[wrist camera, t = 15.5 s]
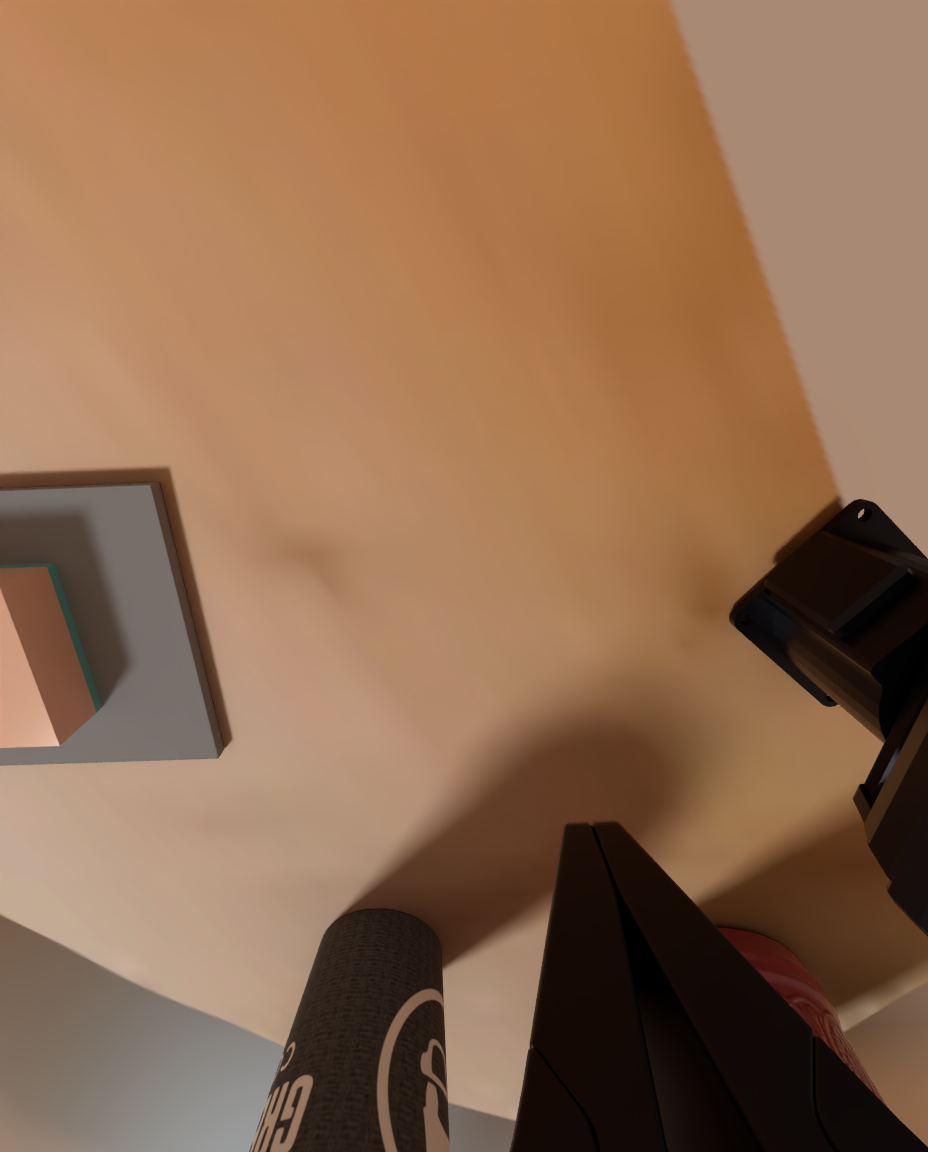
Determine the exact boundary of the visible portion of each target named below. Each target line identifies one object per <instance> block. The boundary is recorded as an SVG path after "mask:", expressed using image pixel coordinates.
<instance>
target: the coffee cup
mask: <svg viewBox="0 0 928 1152" xmlns="http://www.w3.org/2000/svg"><path fill="white" fill-rule="evenodd" d="M249 1152H450V1145H449V1120H448V1097H447V1073H446V1049H445V1025H444V1000H443V976H442V953H441V946H440V943H439V940H438V938H437V937H436V935H435V934H434V932H433V931H432V930H431V929H430V928H429V927H428V926H427V925H426V924H424V923H423V922H421V921H420V920H418V919H416V918H414V917H412V916H410V915H407V914H405V913H401V912H398V911H393V910H385V909H371V910H363V911H358V912H354V913H351V914H349V915H346V916H344V917H342V918H340V919H339V920H337V921H336V922H335V923H333V924H332V925H331V926H330V927H329V928H328V929H327V931H326V932H325V934H324V936H323V938H322V940H321V943H320V946H319V949H318V952H317V955H316V958H315V961H314V964H313V967H312V970H311V973H310V975H309V978H308V981H307V984H306V987H305V990H304V993H303V996H302V999H301V1002H300V1005H299V1008H298V1011H297V1014H296V1017H295V1020H294V1022H293V1025H292V1028H291V1031H290V1034H289V1037H288V1040H287V1043H286V1046H285V1049H284V1052H283V1055H282V1058H281V1061H280V1064H279V1066H278V1069H277V1072H276V1075H275V1078H274V1081H273V1084H272V1087H271V1090H270V1093H269V1096H268V1099H267V1102H266V1104H265V1107H264V1111H263V1113H262V1116H261V1119H260V1122H259V1125H258V1128H257V1131H256V1134H255V1137H254V1140H253V1142H252V1145H251V1148H250V1151H249Z"/></svg>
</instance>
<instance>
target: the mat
mask: <svg viewBox="0 0 928 1152" xmlns="http://www.w3.org/2000/svg"><path fill="white" fill-rule="evenodd" d="M43 563H55V565H56V568H57V571H58V574H59V577H60V580H61V583H62V586H63V589H64V592H65V595H66V598H67V601H68V604H69V607H70V610H71V613H72V616H73V619H74V622H75V625H76V628H77V631H78V634H79V637H80V640H81V643H82V646H83V649H84V652H85V655H86V658H87V661H88V664H89V667H90V670H91V673H92V676H93V679H94V682H95V685H96V689H97V692H98V695H99V698H100V701H101V704H102V708H101V709H100V710H99V711H98V712H97V713H96V714H94V715H93V716H92V717H91V718H90V719H89V720H88V721H87V722H86V723H85V724H83V725H82V726H81V727H80V728H79V729H78V730H77V731H76V732H75V733H73V734H72V735H71V736H70V737H69V738H68V739H67V740H66V741H65V742H64V743H62V744H61V745H60V746H44V747H15V748H0V766H4V765H34V764H65V763H96V762H126V761H157V760H188V759H218V758H219V757H220V755H221V753H222V752H223V750H224V747H223V743H222V739H221V735H220V730H219V726H218V722H217V718H216V714H215V710H214V706H213V702H212V697H211V693H210V689H209V685H208V681H207V677H206V673H205V669H204V664H203V660H202V656H201V652H200V648H199V644H198V640H197V636H196V632H195V627H194V623H193V619H192V615H191V611H190V607H189V603H188V599H187V594H186V590H185V586H184V582H183V578H182V574H181V570H180V566H179V561H178V557H177V553H176V549H175V545H174V541H173V537H172V533H171V528H170V524H169V520H168V516H167V512H166V508H165V504H164V500H163V496H162V491H161V487H160V483H159V482H148V483H123V484H98V485H73V486H48V487H23V488H0V565H18V564H43Z"/></svg>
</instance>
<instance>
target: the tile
mask: <svg viewBox="0 0 928 1152" xmlns="http://www.w3.org/2000/svg"><path fill="white" fill-rule="evenodd" d="M101 708H102V704H101V701H100V698H99V695H98V692H97V689H96V685H95V682H94V679H93V676H92V673H91V670H90V667H89V664H88V661H87V658H86V655H85V652H84V649H83V646H82V643H81V640H80V637H79V634H78V631H77V628H76V625H75V622H74V619H73V616H72V613H71V610H70V607H69V604H68V601H67V598H66V595H65V592H64V589H63V586H62V583H61V580H60V577H59V574H58V571H57V568H56V565H55V563H43V564H18V565H0V748H15V747H44V746H60V745H61V744H62V743H64V742H65V741H66V740H67V739H68V738H69V737H70V736H71V735H72V734H73V733H75V732H76V731H77V730H78V729H79V728H80V727H81V726H82V725H83V724H85V723H86V722H87V721H88V720H89V719H90V718H91V717H92V716H93V715H94V714H96V713H97V712H98V711H99V710H100V709H101Z"/></svg>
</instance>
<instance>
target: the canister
mask: <svg viewBox="0 0 928 1152" xmlns="http://www.w3.org/2000/svg"><path fill="white" fill-rule="evenodd" d="M718 929H719V930H720V931H721V932H722V933H723V934H724V935H725V936H726V937H727V939H728V940H729V941H730V942H731V943H732V944H733V945H734V946H735V947H736V948H737V949H738V950H739V951H740V952H741V953H742V955H743V956H744V957H745V958H746V959H747V960H748V961H749V962H750V963H751V964H752V965H753V966H754V967H755V968H756V969H757V971H758V972H759V973H760V974H761V975H762V976H763V977H764V978H765V979H766V980H767V981H768V982H769V983H770V984H771V986H772V987H773V988H774V989H775V990H776V991H777V992H778V993H779V994H780V995H781V996H782V997H783V998H784V999H785V1000H786V1002H787V1003H788V1004H789V1005H790V1006H791V1007H792V1008H793V1009H794V1010H795V1011H796V1012H797V1013H798V1014H799V1015H800V1016H801V1018H802V1019H803V1020H804V1021H805V1022H806V1023H807V1024H808V1025H809V1026H810V1027H811V1028H812V1030H813V1035H814V1036H819V1037H820V1038H821V1039H822V1040H823V1041H824V1042H825V1043H826V1044H827V1045H828V1046H829V1047H830V1048H831V1049H832V1050H833V1051H834V1053H835V1054H836V1055H837V1056H838V1057H839V1058H840V1059H841V1060H842V1061H843V1062H844V1063H845V1064H846V1065H847V1066H848V1067H849V1069H850V1070H851V1071H852V1072H853V1073H854V1074H855V1075H856V1076H857V1077H858V1078H859V1079H860V1080H861V1081H862V1082H863V1083H864V1084H865V1085H866V1086H867V1087H868V1088H869V1089H870V1090H871V1091H872V1092H873V1093H874V1094H875V1095H876V1096H877V1097H878V1098H879V1099H880V1100H881V1101H882V1103H883V1104H884V1105H885V1106H886V1104H885V1103H884V1101H883V1099H882V1097H881V1096H880V1094H879V1092H878V1090H877V1089H876V1087H875V1085H874V1084H873V1082H872V1080H871V1079H870V1077H869V1075H868V1073H867V1072H866V1070H865V1068H864V1067H863V1065H862V1063H861V1061H860V1059H859V1058H858V1056H857V1054H856V1053H855V1051H854V1049H853V1048H852V1046H851V1044H850V1042H849V1041H848V1039H847V1037H846V1036H845V1034H844V1032H843V1030H842V1029H841V1025H840V1021H839V1018H838V1015H837V1013H836V1011H835V1009H834V1007H833V1006H832V1004H831V1003H830V1002H829V1000H828V999H827V997H826V995H825V993H824V991H823V989H822V988H821V986H820V985H819V983H818V982H817V981H816V980H815V979H814V978H813V977H812V976H811V975H810V974H809V973H808V972H807V971H806V969H805V968H804V967H803V965H802V964H801V962H800V961H799V960H798V958H797V957H796V956H795V955H794V954H793V953H792V952H791V951H789V950H788V949H787V948H786V947H784V946H783V945H781V944H779V943H778V942H776V941H774V940H772V939H769V938H767V937H765V936H762V935H759V934H756V933H752V932H748V931H743V930H737V929H730V928H718ZM886 1107H887V1106H886Z"/></svg>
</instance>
